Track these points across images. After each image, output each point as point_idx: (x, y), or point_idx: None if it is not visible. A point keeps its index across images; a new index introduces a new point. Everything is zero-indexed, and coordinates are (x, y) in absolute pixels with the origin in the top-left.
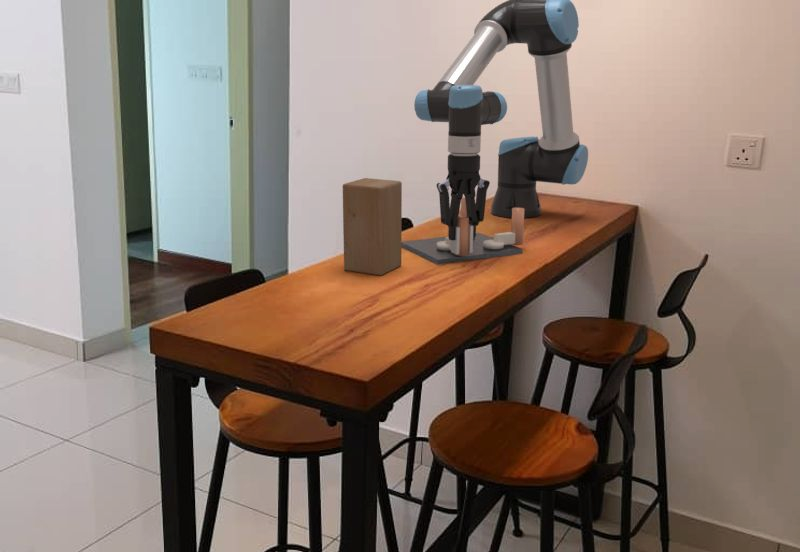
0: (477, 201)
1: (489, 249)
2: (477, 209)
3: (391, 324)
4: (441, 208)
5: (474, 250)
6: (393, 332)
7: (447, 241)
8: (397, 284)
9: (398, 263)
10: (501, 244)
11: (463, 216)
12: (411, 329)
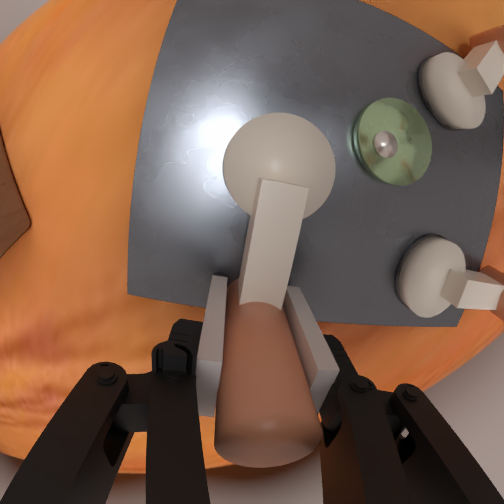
0: (442, 500)
1: (396, 292)
2: (409, 465)
3: (2, 427)
4: (40, 464)
5: (353, 264)
6: (5, 436)
7: (255, 205)
8: (2, 346)
9: (12, 241)
10: (432, 314)
11: (301, 431)
12: (19, 445)
